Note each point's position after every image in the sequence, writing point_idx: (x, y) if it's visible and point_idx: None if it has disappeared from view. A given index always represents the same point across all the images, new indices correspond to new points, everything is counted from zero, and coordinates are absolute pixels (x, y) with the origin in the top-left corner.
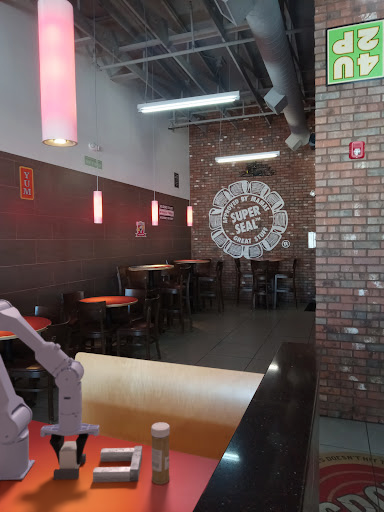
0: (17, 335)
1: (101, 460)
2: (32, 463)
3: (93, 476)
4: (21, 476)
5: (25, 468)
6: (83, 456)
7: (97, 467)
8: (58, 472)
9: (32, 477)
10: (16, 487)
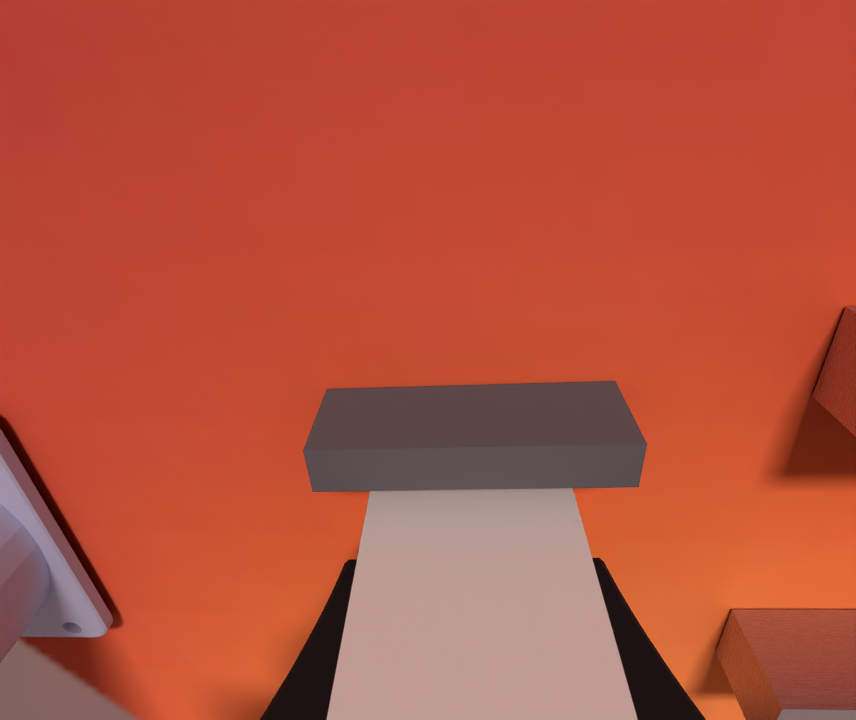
0: None
1: (835, 407)
2: (8, 474)
3: (745, 707)
4: (84, 625)
5: (32, 589)
6: (612, 480)
7: (814, 711)
8: None
9: (173, 592)
10: (141, 667)
